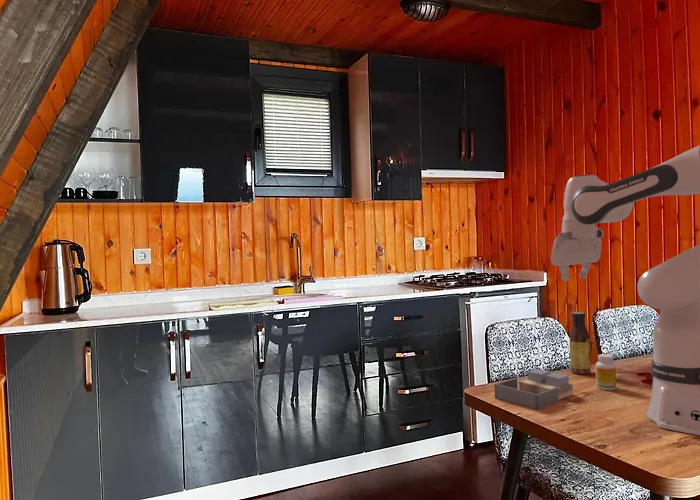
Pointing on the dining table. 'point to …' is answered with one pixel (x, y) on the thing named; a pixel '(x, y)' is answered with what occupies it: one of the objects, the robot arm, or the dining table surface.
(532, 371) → the tile
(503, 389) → the tray
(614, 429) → the dining table surface
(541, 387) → the board
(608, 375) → the supplement bottle
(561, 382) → the tile
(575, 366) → the sauce bottle
